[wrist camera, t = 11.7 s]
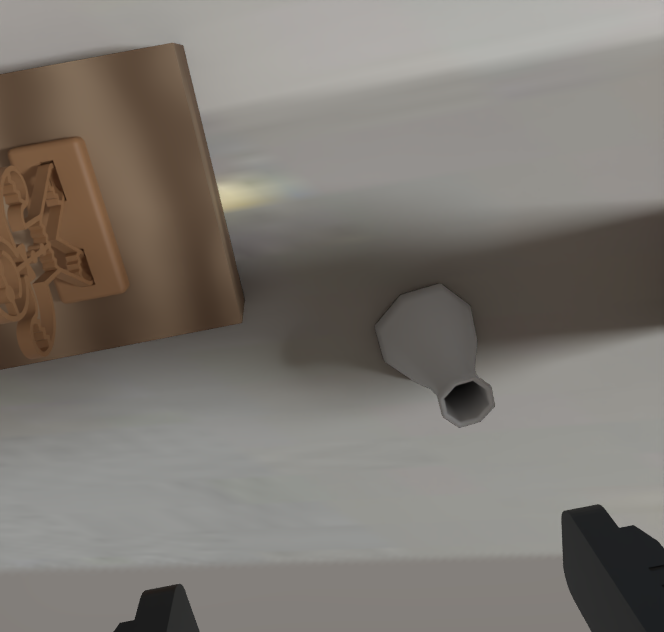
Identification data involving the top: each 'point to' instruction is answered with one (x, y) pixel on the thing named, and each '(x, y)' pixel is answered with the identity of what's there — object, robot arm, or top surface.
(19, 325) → the gingerbread man figurine
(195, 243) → the walnut plinth
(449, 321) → the flask
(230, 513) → the top surface
